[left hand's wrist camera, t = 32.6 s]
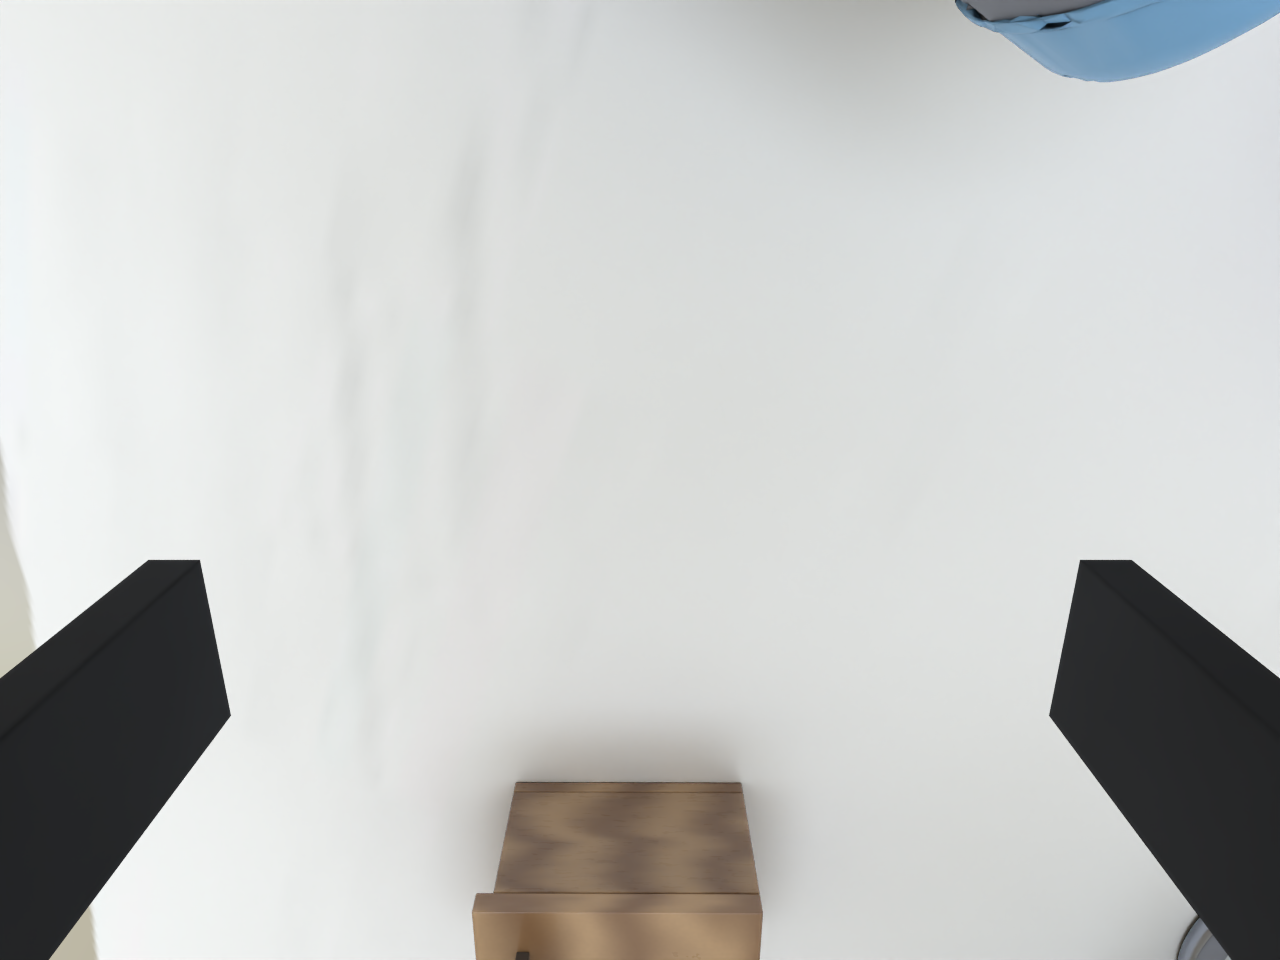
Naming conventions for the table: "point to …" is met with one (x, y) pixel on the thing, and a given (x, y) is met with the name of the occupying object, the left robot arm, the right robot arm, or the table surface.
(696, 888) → the chest
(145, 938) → the table surface
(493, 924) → the lid
